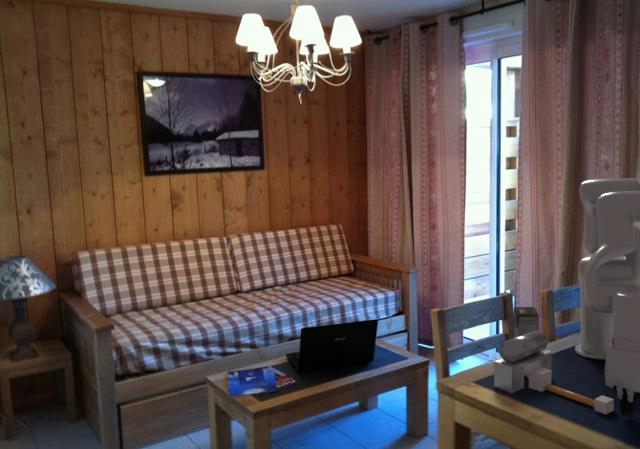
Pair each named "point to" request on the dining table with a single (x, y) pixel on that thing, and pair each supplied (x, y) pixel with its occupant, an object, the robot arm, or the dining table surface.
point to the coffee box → (525, 320)
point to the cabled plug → (542, 382)
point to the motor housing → (520, 360)
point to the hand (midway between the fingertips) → (627, 414)
